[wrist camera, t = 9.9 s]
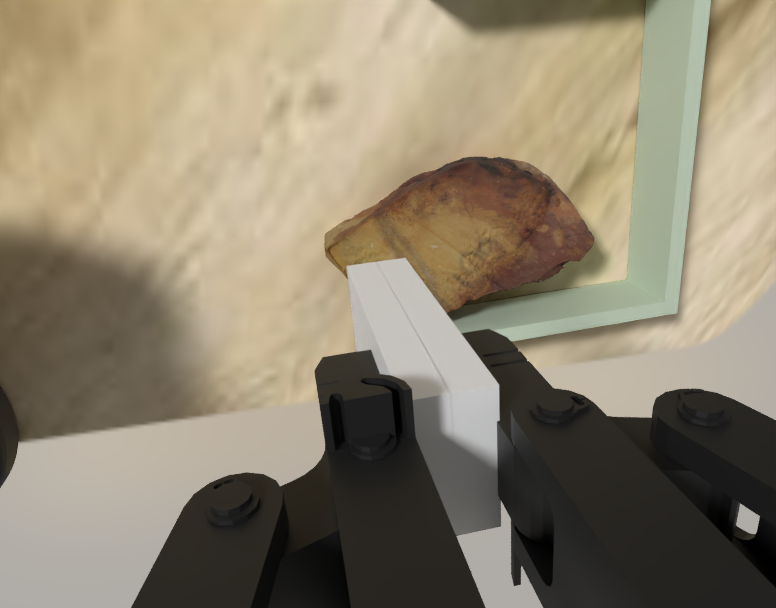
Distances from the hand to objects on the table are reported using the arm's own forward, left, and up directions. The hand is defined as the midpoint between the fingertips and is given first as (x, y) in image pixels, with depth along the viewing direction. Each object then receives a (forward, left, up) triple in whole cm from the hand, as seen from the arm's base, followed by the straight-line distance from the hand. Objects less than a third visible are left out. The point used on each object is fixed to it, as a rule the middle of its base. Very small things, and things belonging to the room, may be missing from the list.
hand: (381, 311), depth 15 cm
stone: (+8, -5, -23) cm, 25 cm away
